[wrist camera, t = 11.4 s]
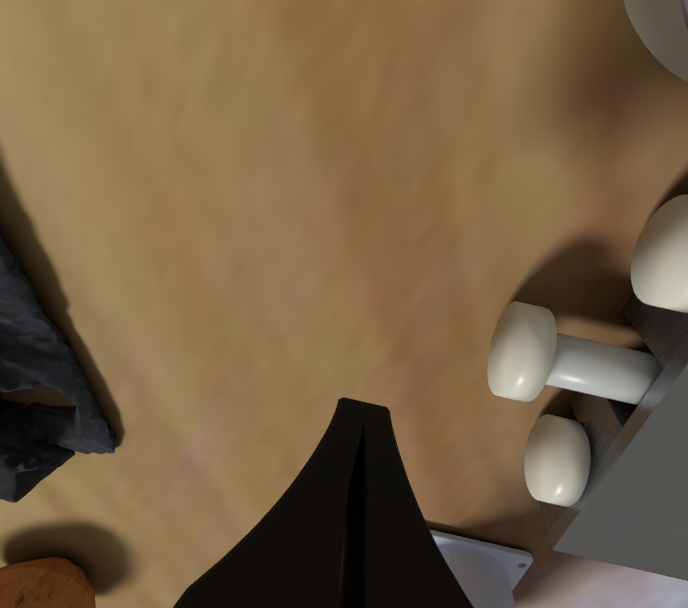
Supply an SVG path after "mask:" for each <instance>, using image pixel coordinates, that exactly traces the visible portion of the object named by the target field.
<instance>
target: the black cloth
mask: <svg viewBox="0 0 688 608" xmlns="http://www.w3.org/2000/svg"><path fill="white" fill-rule="evenodd" d="M23 271H24V270H23V268H22V265H21V263H19V262H18V261H17V260H16V259H15V258H14V256H13V255H12V254H11V252H10V251H9V248H8V244H7V242H6V241H5V240H4V239H3V238H2V236H1V235H0V391H3V392H12V391H15V390H22V389H24V388H25V389H32V388H34V387H36V386H37V385H39V384H41V383H43V384H44V385H45V386H47V387H51V388H54V389H55V390H57V391H58V392H60V393H61V394H63V395H64V396H66V397H67V398H68V399H69V400H70V402H71V403H73V404H74V405H75V406H73V407H64V406H61V407H52V406H48V405H45V404H42V403H32V404H31V405H30V406H27V405H26V404H23V403H19V402H8V401H5V400H3V399H2V398H0V499H3V500H6V501H8V502H18V501H19V500H20V499H22V498H23V497H24V496H25V495H26V494H27V493H29V492H30V491H31V490H32V489H33V488H34V487H35V486H36V485H37V484H38V483H39V482H40V481H41V480H43V479H44V478H45V477H47V476H48V475H49V474H51V473H52V472H53V471H54V470H56V468H58V467H60V466H62V465H63V464H64V463H65V462H66V461H67V460H68V459H70V458H71V457H72V456H74V455H75V451H77V452H81V453H85V454H89V453H99V454H104V453H106V452H107V453H114V452H115V448H116V445H117V441H118V440H116V439H114V438H113V430H112V428H111V427H110V426H109V425H107V424H106V422H105V420H104V419H103V418H102V417H101V415H100V413H99V409H98V405H97V403H96V402H95V400H94V398H93V394H92V392H91V389H90V387H89V384H88V382H87V379H86V376H85V374H84V373H83V372H82V370H81V368H80V367H79V366H78V365H77V364H76V363H75V357H74V353H73V352H72V351H71V350H70V349H69V348H68V347H67V346H66V344H65V342H66V340H67V339H66V338H65V337H64V336H63V335H62V334H61V332H60V331H59V330H58V329H57V328H56V327H55V326H54V325H53V324H52V322H51V321H50V320H49V319H48V318H47V317H46V316H45V315H44V313H43V311H42V309H41V307H40V305H39V304H38V301H37V298H36V295H35V292H34V290H33V289H32V286H31V284H30V283H29V281H28V280H27V278H26V277H25V276H24V275H23V274H22V273H23ZM24 272H25V271H24ZM0 395H1V394H0Z"/></svg>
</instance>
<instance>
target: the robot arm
mask: <svg viewBox="0 0 688 608" xmlns="http://www.w3.org/2000/svg"><path fill="white" fill-rule="evenodd" d="M532 562H533V558H532V555H531V554H530V553H529V552H527V551H522V550H518V549H513V548H509V547H505V546H500V545H496V544H491V543H487V542H483V541H478V540H474V539H470V538H465V537H461V536H456V535H452V534H448V533H443V532H439V531H434V530H430V529H429V528H428V526H427V524H426V521H425V519H424V517H423V515H422V513H421V510H420V508H419V506H418V503H417V501H416V498H415V496H414V493H413V491H412V488H411V486H410V483H409V480H408V477H407V474H406V471H405V468H404V466H403V463H402V460H401V456H400V453H399V450H398V446H397V443H396V439H395V435H394V431H393V427H392V422H391V417H390V411H389V410H388V408H387V407H384V406H379V405H375V404H370V403H366V402H362V401H357V400H353V399H348V398H344V397H343V398H341V399H339V400H338V404H337V408H336V411H335V413H334V416H333V418H332V420H331V422H330V424H329V426H328V428H327V430H326V432H325V434H324V436H323V437H322V439H321V441H320V443H319V444H318V446H317V448H316V449H315V451H314V453H313V454H312V456H311V457H310V459H309V460H308V462H307V463H306V464H305V466H304V467H303V469H302V470H301V472H300V473H299V475H298V476H297V477H296V479H295V480H294V481H293V483H292V484H291V485H290V487H289V488H288V489H287V490H286V492H285V493H284V494H283V495H282V497H281V498H280V499H279V500H278V501H277V503H276V504H275V505H274V506H273V507H272V508H271V509H270V510H269V512H268V513H267V514H266V515H265V516H264V517H263V518H262V519H261V521H260V522H259V523H258V524H257V525H256V526H255V527H254V528H253V529H252V530H251V531H250V532H249V533H248V534H247V535H246V536H245V537H244V538H243V539H242V540H241V541H240V542H239V543H238V544H237V545H236V546H235V547H234V548H233V549H231V550H230V551H229V552H228V553H227V554H226V555H225V556H224V557H223V558H222V559H221V560H220V561H219V562H218V563H216V564H215V565H214V566H213V567H212V568H210V569H209V570H208V571H207V572H206V573H205V574H203V575H202V576H201V577H200V578H199V579H197V580H196V581H195V582H194V583H193V584H191V585H190V586H189V587H188V588H187V589H186V591H185V592H184V593H183V595H182V596H181V597H180V599H179V600H178V601H177V603H176V604H175V605H174V607H173V608H515V604H514V599H513V593H512V591H513V589H514V588H515V586H516V585H517V584H518V582H519V581H520V579H521V578H522V577H523V575H524V574H525V572H526V571H527V569H528V568H529V567H530V565H531V564H532Z"/></svg>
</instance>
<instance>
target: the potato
mask: <svg viewBox="0 0 688 608" xmlns="http://www.w3.org/2000/svg"><path fill="white" fill-rule="evenodd" d="M0 608H96V607H95V594H94V588H93V587H92V586H91V584H90V583H89V581H88V580H87V578H86V576H85V574H84V572H83V570H82V568H80V567H78V566H77V565H75V564H74V563H72V562H70V561H69V560H67V559H65V558H57V557H49V558H43V559H38V560H32V561H27V562H22V563H17V564H12V565H8V566H5V567H2V568H0Z"/></svg>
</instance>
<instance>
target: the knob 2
mask: <svg viewBox="0 0 688 608" xmlns="http://www.w3.org/2000/svg"><path fill="white" fill-rule="evenodd" d="M631 282H632V287H633V290H634V292H635V294H636V296H637V297H638V298H639V299H640V300H641V301H642V302H643V303H645V304H648V305H652V306H656V307H661V308H665V309H670V310H674V311H679V312H684V313H688V195H680V196H677V197H675V198H673V199H671V200H669V201H668V202H666V203H665V204H664V205H662V206H661V207H660V208H659V209H658V210H657V211H656V212H655V213H654V214H653V216H652V217H651V218H650V220H649V221H648V222H647V224H646V225H645V227H644V229H643V231H642V233H641V234H640V237H639V239H638V241H637V244H636V247H635V250H634V253H633V257H632V263H631Z"/></svg>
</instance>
